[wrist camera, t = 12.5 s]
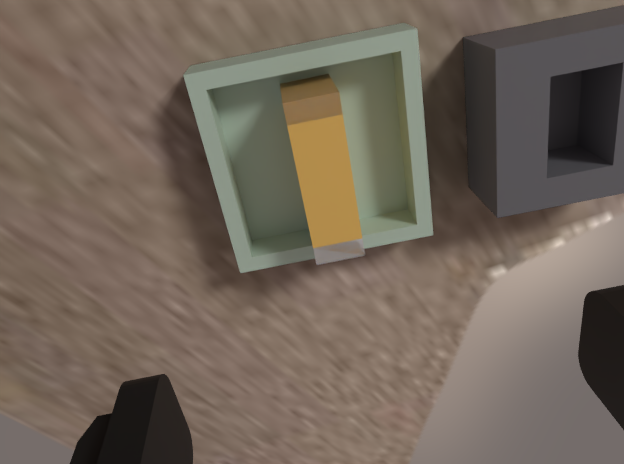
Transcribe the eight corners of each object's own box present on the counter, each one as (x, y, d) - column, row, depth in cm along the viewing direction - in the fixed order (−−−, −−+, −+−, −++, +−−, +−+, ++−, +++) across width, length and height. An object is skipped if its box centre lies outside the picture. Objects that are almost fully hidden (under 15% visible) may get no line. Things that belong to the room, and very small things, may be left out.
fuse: (316, 265, 32) (282, 103, 27) (310, 228, 36) (279, 83, 31) (365, 255, 32) (339, 91, 27) (352, 219, 36) (328, 73, 31)
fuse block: (468, 186, 36) (497, 217, 32) (463, 37, 32) (495, 49, 27) (610, 158, 36) (658, 186, 32) (625, 5, 32) (684, 11, 27)
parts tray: (242, 251, 37) (240, 273, 34) (190, 65, 31) (183, 75, 28) (421, 215, 37) (433, 235, 34) (404, 22, 31) (417, 28, 28)
